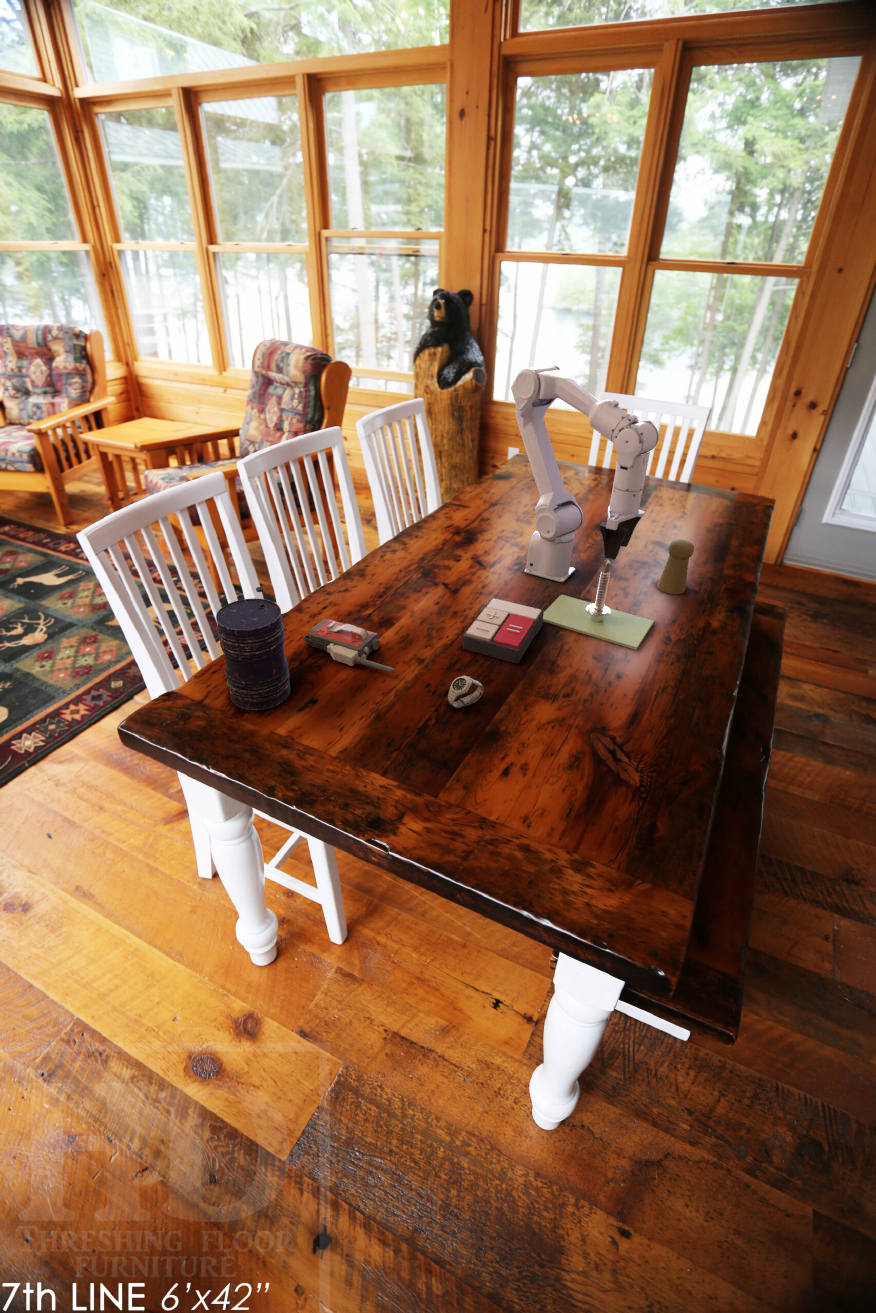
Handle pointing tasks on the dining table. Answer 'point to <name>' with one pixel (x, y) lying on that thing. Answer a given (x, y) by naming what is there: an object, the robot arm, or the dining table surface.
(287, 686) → the dark blue cylinder
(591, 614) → the screw
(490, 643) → the calculator
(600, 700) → the dining table surface
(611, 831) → the dining table surface
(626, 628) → the mat
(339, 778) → the dining table surface
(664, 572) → the olive pawn
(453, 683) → the wristwatch
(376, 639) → the walkie-talkie
